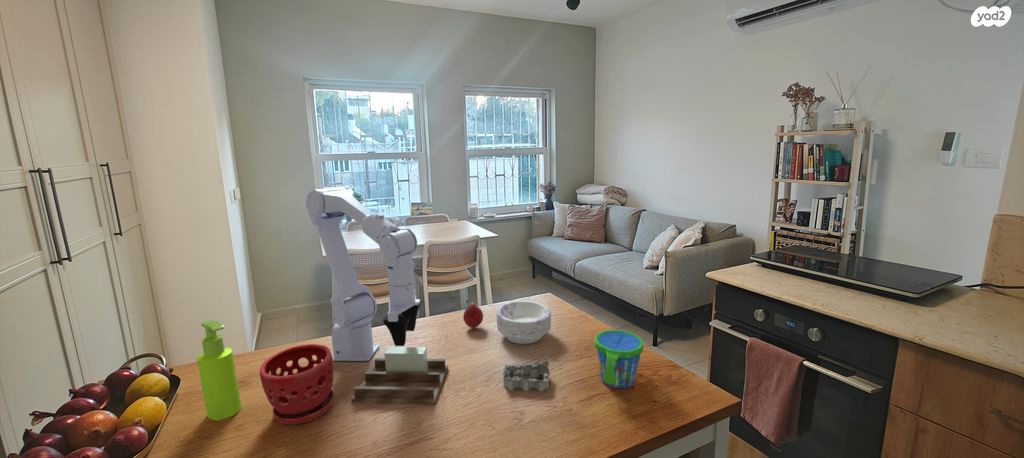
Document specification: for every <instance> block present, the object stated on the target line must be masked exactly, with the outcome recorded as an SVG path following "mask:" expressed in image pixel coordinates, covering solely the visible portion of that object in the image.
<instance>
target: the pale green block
mask: <svg viewBox="0 0 1024 458" xmlns="http://www.w3.org/2000/svg"><path fill="white" fill-rule="evenodd" d="M384 358H385V365H386V372H428V363H427V359H428V349H427V347H412V346H411V347H410V346H409V347H408V346H406V347H405V346H389V347H388V348H387V349H386V351H385V352H384Z"/></svg>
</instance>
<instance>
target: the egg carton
mask: <svg viewBox="0 0 1024 458" xmlns="http://www.w3.org/2000/svg"><path fill="white" fill-rule="evenodd" d="M511 375H513V377H511ZM525 375H529V376H530V378H528V379H525ZM502 376H503V387H504V388H507V390H508V391H513V390H514V389H516V388H521V389H522V390H523V391H524V392H525V391H526V392H528V391H529V390H530V389H533V388H534V389H537V390H538V392H544V391H545V390H547V389H549V387H550V376H551V372H550V362H549V361H548V360H547V361H546V360H538V361H535V363H532V362H529V363H524V364H522V363H519V364H512V365H511V364H505V365H504V369H503V372H502ZM539 376H543V379H537V377H539Z"/></svg>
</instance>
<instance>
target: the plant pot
mask: <svg viewBox="0 0 1024 458" xmlns="http://www.w3.org/2000/svg"><path fill="white" fill-rule="evenodd" d="M313 356H315V357H316V359H314V358H313ZM300 359H306V360H307V362H308V364H307V365H305V366H302V365H300V363H299V360H300ZM288 362H291V365H289V366H288V365H287V363H288ZM278 369H280V372H279V373H277V371H278ZM294 370H297V371H296V372H295V373H294ZM286 372H287V374H286V375H285V373H286ZM259 376H260V381H261V382H260V383H261V385H262V388H263V392H264V394H265V396H266V397H267V400H268V402H269V404H270V405H271V406H272V407H273V409H272V414H273V417H274V419H275V420H277V421H278V422H280V423H283V424H287V425H298V424H303V423H306V422H310V421H314V420H315V419H317V418H318V417H319V416H321V415H323V414H324V413H326V412H327V411H328V410H329V409H330V408H331V406H332V404H333V403H334V400H335V392H334V390H333V389H332V387H333V383H334V361H333V355H332V351H331V349H330V348H328V346H325V345H323V344H318V343H317V344H316V343H312V344H311V343H309V344H301V345H300V344H299V345H295V346H292V347H288V348H286V349H284V350H280V351H279V352H277V353H274V354H273V355H271V356H270V357H267V359H265V360H264V361H263V362H262V364H261V366H260V367H259Z"/></svg>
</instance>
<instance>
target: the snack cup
mask: <svg viewBox="0 0 1024 458" xmlns="http://www.w3.org/2000/svg"><path fill="white" fill-rule="evenodd" d="M594 346H595V348H596V350H597V359H598V367H599V368H598V369H599V375H600V379H601V382H602V383H605V385H607V386H609V387H611V388H613V389H627V388H631V387H632V386H633V385H634V383H635V380H636V377H637V373H638V368H639V363H640V358H641V354H642V353H643V351H644V341H643V339H642V338H641V337H640V336H639V335H636V334H635V333H634V332H633V333H632V332H629V331H627V330H620V329H607V330H604V331H601V332H599V333H598V334H597V335H596V336H595V338H594Z"/></svg>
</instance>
